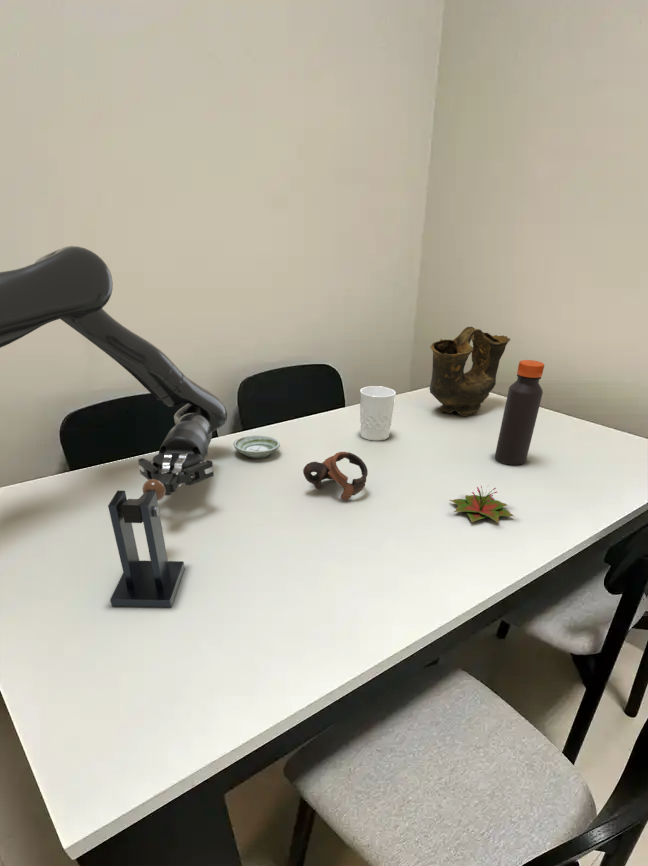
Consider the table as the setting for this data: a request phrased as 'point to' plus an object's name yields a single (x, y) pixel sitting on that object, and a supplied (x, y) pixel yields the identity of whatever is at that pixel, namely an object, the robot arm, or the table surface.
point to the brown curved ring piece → (337, 473)
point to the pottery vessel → (449, 373)
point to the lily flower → (481, 506)
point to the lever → (133, 505)
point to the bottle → (520, 414)
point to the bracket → (143, 578)
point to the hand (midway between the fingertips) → (165, 489)
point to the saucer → (257, 445)
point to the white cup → (376, 412)
